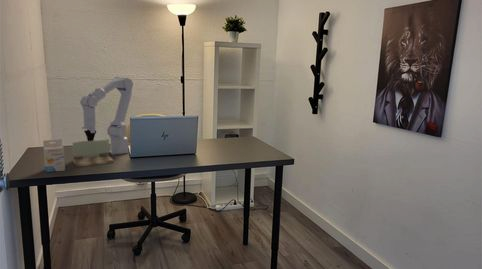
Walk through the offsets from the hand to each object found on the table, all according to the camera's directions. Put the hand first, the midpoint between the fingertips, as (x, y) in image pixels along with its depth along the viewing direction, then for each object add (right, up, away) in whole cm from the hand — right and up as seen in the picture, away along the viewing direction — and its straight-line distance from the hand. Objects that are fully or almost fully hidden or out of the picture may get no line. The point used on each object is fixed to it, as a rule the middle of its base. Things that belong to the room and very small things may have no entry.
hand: (90, 143), depth 193 cm
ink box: (-10, -13, -18) cm, 24 cm away
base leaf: (+2, -10, -2) cm, 10 cm away
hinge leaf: (+1, -3, 0) cm, 3 cm away
